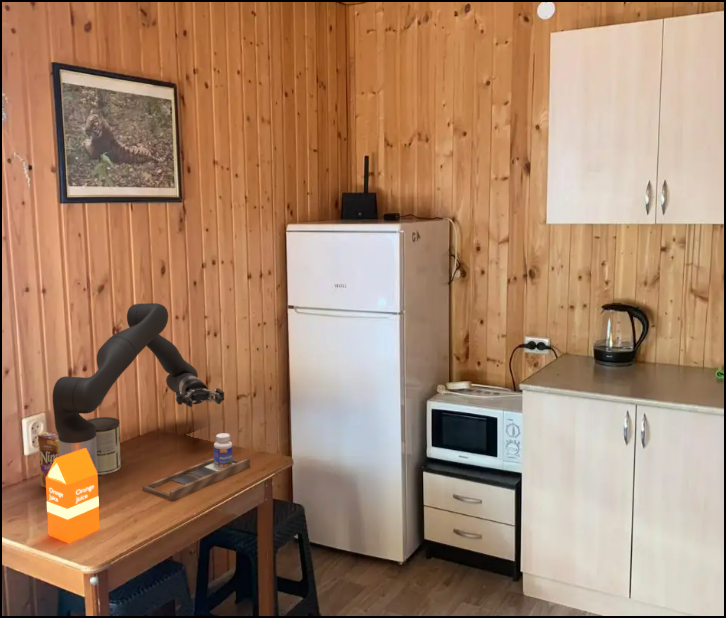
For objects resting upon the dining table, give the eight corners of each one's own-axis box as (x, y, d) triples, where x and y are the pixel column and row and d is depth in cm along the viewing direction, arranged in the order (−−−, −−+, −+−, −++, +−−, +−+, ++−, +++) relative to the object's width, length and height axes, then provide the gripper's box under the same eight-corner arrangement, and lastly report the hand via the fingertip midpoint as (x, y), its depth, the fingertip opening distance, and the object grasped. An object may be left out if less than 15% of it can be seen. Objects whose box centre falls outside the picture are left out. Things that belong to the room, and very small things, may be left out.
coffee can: (78, 467, 216) (76, 421, 214) (112, 459, 223) (110, 414, 221) (92, 478, 209) (90, 430, 206) (127, 469, 215) (125, 423, 213)
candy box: (39, 487, 202) (36, 434, 199) (53, 482, 205) (50, 429, 203) (61, 494, 197) (58, 440, 195) (74, 489, 201) (72, 435, 198)
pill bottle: (220, 471, 215) (219, 439, 213) (210, 465, 219) (210, 434, 217) (236, 467, 218) (235, 435, 217) (226, 461, 222) (226, 431, 221)
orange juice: (48, 535, 175) (43, 455, 171) (79, 521, 182) (76, 444, 179) (69, 543, 171) (65, 462, 167) (100, 529, 178) (97, 450, 175)
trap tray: (172, 501, 195) (172, 492, 194) (142, 490, 201) (142, 481, 201) (249, 466, 219) (249, 459, 219) (221, 458, 226) (220, 450, 225)
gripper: (170, 379, 231) (181, 392, 217) (214, 376, 237) (228, 388, 223) (170, 402, 232) (181, 416, 218) (215, 398, 238) (228, 412, 224)
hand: (205, 402), depth 220 cm, fingers open, 8 cm apart
